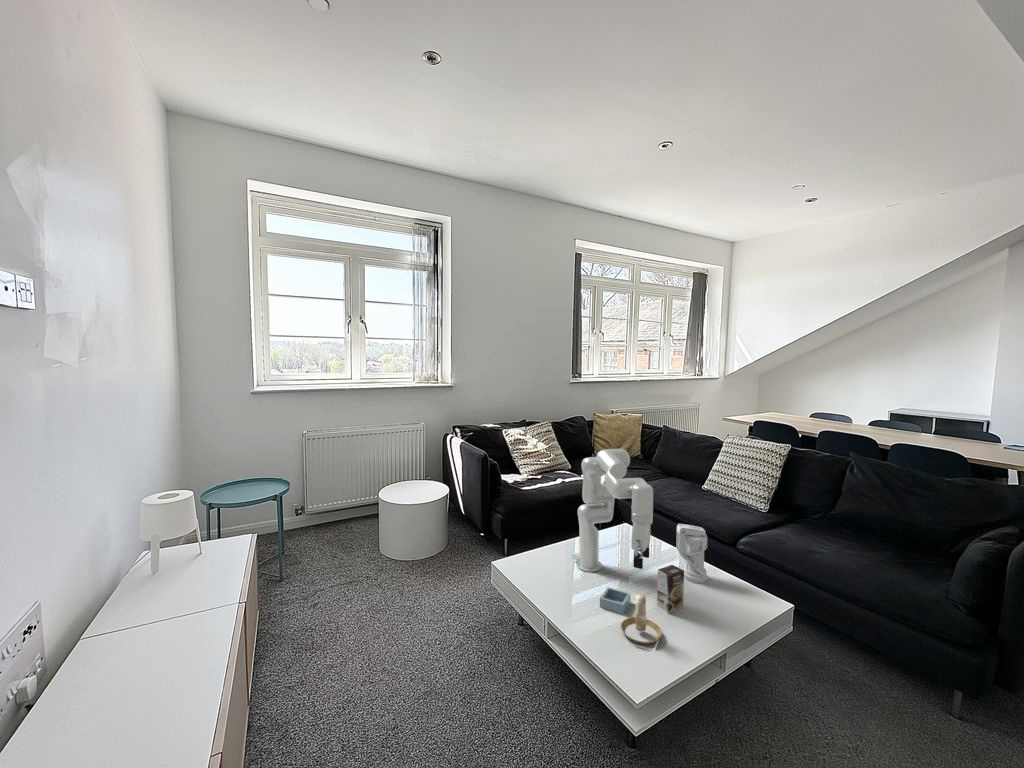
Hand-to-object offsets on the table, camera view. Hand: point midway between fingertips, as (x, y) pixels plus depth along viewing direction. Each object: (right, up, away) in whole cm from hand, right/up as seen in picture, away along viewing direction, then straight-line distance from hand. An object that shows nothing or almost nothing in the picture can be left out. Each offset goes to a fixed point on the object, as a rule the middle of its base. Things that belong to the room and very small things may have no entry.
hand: (641, 562), depth 155 cm
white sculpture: (+37, -26, +42) cm, 62 cm away
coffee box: (+18, -27, +19) cm, 37 cm away
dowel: (0, -26, +1) cm, 26 cm away
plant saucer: (0, -28, +1) cm, 29 cm away
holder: (-5, -27, +20) cm, 34 cm away
